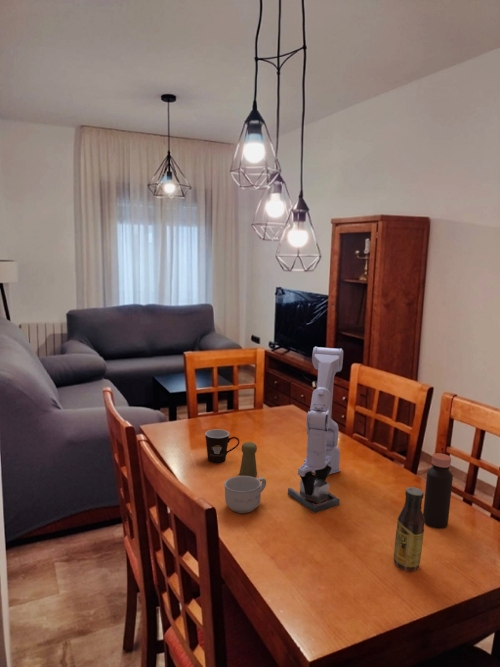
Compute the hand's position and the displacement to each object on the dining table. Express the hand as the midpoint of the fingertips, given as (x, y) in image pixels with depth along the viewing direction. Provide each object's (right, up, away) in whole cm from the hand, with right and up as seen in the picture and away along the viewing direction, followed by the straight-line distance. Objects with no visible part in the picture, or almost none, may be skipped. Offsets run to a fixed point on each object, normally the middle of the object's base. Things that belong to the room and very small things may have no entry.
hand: (314, 491), depth 149 cm
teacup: (-21, -3, -5) cm, 21 cm away
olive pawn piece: (-20, 0, +17) cm, 26 cm away
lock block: (0, -2, 0) cm, 2 cm away
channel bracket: (-1, -3, +1) cm, 3 cm away
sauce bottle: (+19, -9, -30) cm, 36 cm away
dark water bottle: (+33, -6, -10) cm, 35 cm away
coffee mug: (-30, +2, +27) cm, 40 cm away
